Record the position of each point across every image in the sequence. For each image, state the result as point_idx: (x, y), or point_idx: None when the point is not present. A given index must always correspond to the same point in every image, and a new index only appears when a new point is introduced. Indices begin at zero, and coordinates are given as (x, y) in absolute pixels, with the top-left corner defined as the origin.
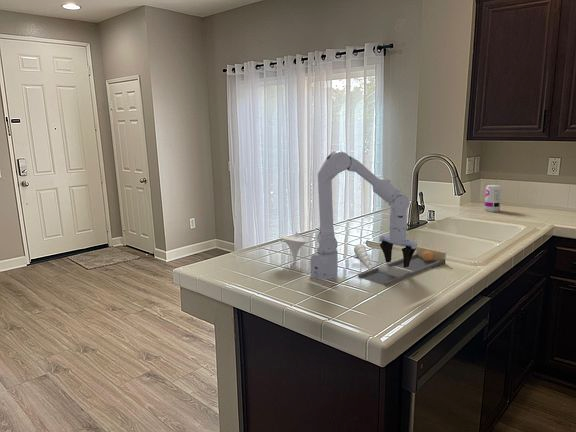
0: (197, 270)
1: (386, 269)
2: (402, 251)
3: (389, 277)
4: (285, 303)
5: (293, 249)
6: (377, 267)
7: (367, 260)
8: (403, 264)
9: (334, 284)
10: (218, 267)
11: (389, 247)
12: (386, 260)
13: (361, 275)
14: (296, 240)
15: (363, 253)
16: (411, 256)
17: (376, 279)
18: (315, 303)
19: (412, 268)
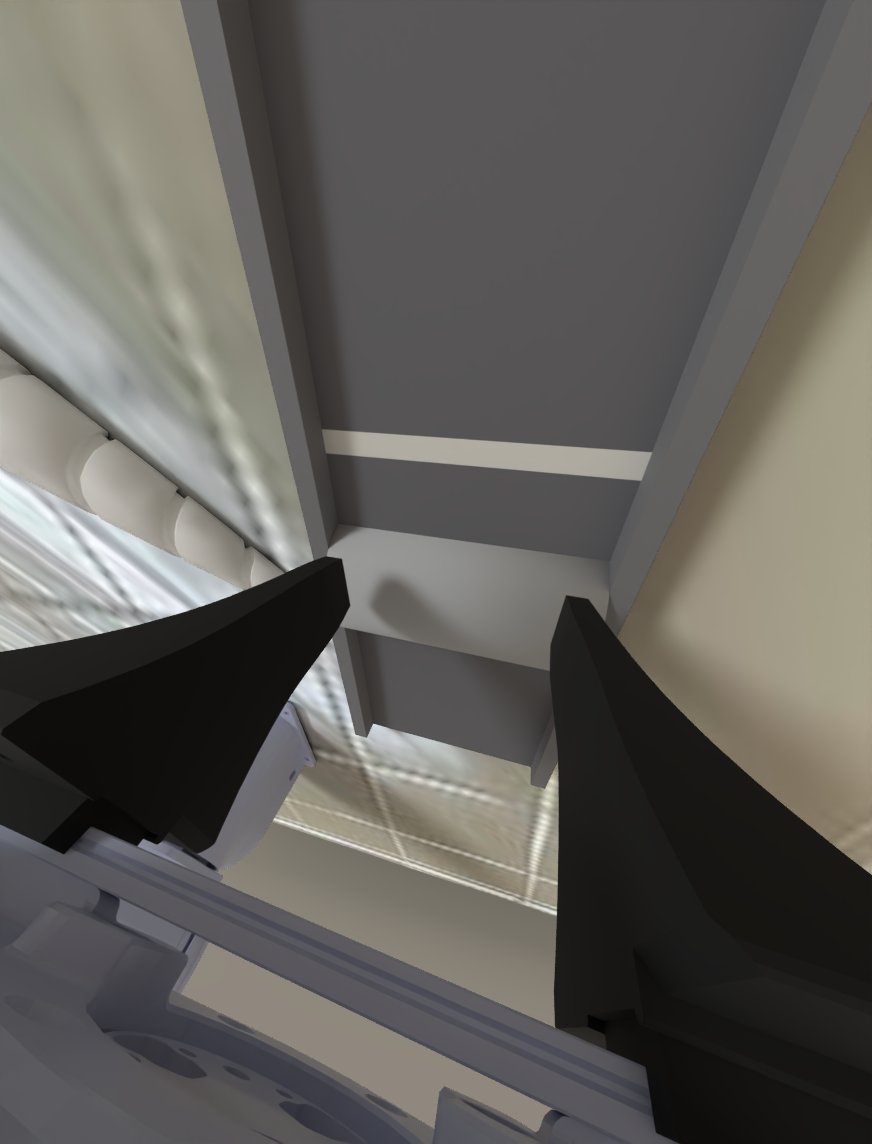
0: None
1: (410, 640)
2: (559, 932)
3: (488, 680)
4: (385, 854)
5: None
6: None
7: (178, 552)
8: (550, 677)
9: (358, 770)
10: None
11: (206, 721)
12: (333, 625)
13: (368, 724)
14: None
15: (20, 472)
16: (670, 719)
17: (449, 723)
18: (433, 855)
19: (545, 348)
